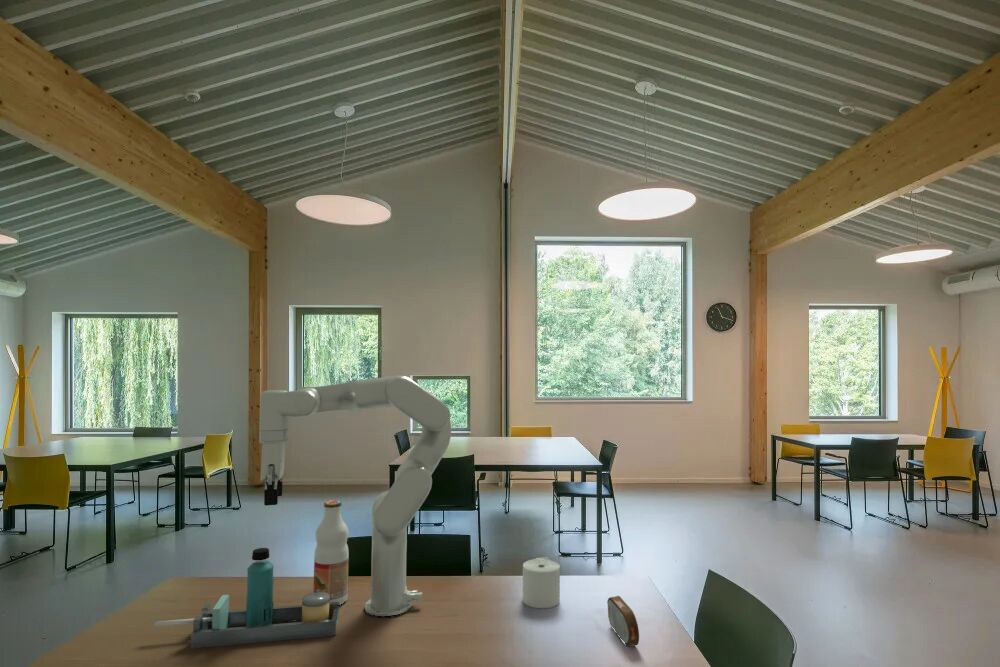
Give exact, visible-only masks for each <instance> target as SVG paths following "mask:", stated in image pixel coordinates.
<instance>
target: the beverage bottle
mask: <svg viewBox="0 0 1000 667" xmlns="http://www.w3.org/2000/svg"><path fill="white" fill-rule="evenodd" d="M251 554H252V555H251V560H252V561H254V562H252V563H251V564H250V565H249V566H248V567H247V569H246V570H247V572H246V573H247V575H246V576H247V583H246V604H245V609H246V625H245V626H246V627H247V626H259V625H271V624H273V623H272V618H273V607H274V580H275V579H274V568H275V567H274V566H275V565H274V564H273V563H272V562H271V561H269V560H267V559H270V549H269V548H268V547H260V548H259V547H258V548H256V549H253V550H252V553H251Z"/></svg>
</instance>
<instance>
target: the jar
mask: <svg viewBox="0 0 1000 667" xmlns="http://www.w3.org/2000/svg"><path fill="white" fill-rule="evenodd" d="M329 601H330V595H329V594H328V593H326V592H310V593H306V594H305V595H303V597H302V598H301V605H302V620H301V622H307V621H319V620H330V618H329Z"/></svg>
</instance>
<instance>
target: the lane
mask: <svg viewBox="0 0 1000 667" xmlns="http://www.w3.org/2000/svg"><path fill="white" fill-rule="evenodd" d="M211 610H212V604H211V603H207V604H204V605H203V607H202V608H201V614H200V615H196V616H195V617H194V618H195V619H194V618H193V619H194V620H193V623H192V632H191V633H190V635H191V636H190V649H201V648H202V649H203V648H210V647H211V648H212V647H223V646H236V645H245V644H246V645H247V644H256V643H268V642H279V641H289V640H290V641H291V640H302V639H312V638H325V637H334V636H333V635H337V630H336V629H338V624H339V618H340V606H339V602H333V603H329V617H332V618H330V619H329V620H319V621H307V622H302V604H298V605H297V604H296V605H294V604H293V605H284V606H282V605H281V606H273V618H272V623H271V624H270V625H259V626H247V625H246V608H245V609H234V610H233V609H232V610H230V609H229V616H228V627H227V628H223V629H212V622H203V618H207V617H212V616H213V611H211ZM338 617H339V618H338ZM294 620H300V621H294ZM286 621H288V622H286ZM284 622H285V623H284ZM337 623H338V624H337Z"/></svg>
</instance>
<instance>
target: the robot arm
mask: <svg viewBox="0 0 1000 667" xmlns="http://www.w3.org/2000/svg"><path fill="white" fill-rule="evenodd" d="M389 407H394V408H396V409H397V410H399V411H400V412H401V413H403V414H405V415H406V416H407V417H409V418H410V419H411V420H413V421H414V422H416V423H417V424H419V425H420V426H421V428H422V430H421V433H420V436H419V438H418V440H417V441H416V443H415V444H414V446H413V448H412V449H411V451H410V452H409V453H408V455H407V457H406V458H405V459H404V460H403V462H402V463H401V465H399V467H398V469H397V470H396V472H395V473H396V474H395V480H394V482H393V484H392V485H391V487H390V488H389V490H386V491H383V492H381V493H380V494H379V495H377V497H376V498H375V499H374V501H373V503H372V509H371V520H372V521H371V522H372V523H371V564H370V565H371V568H370V569H371V572H370V574H371V575H370V577H371V578H370V580H371V581H370V585H371V586H370V599H368V600H367V601H366V602H365V604H364V610H365V612H366V613H367V614H368V613H369V614H368V615H370V614H371V615H370V616H373V615H375V616H374V617H377V616H391V615H397V614H400V613H403V612H405V611H406V612H408V611H409V610H410V609H411V607H412V601H423V592H418V589H415V590H409V589H408V586H407V548H408V547H407V545H408V544H407V543H408V540H407V538H408V537H407V533H408V531H407V530H408V528H407V527H408V526H409V524H410V523H411V522H412V521H413V518H414V517H415V516H416V514H417V512H418V511H419V509H420V508H421V507H422V506H423V503H424V502H425V501H426V499H427V497H428V495H429V494H430V491H431V490H432V485H433V478H432V475H433V473H434V472H435V470H436V468H437V467H438V466H439V463H440V461H441V460H442V458H443V457H444V455H445V453H446V452H447V449H448V448H449V445H450V442H451V439H452V438H451V436H452V423H451V417H452V415H451V411H450V409H449V407H448V405H447V404H446V403H445V402H443V401H442V400H440V399H439V398H438V397H436V396H434V395H433V394H432V393H431V392H429V391H428V390H426V389H425V388H423V387H421V385H419V384H418V383H416V382H415V381H414V380H413V379H412V378H410V377H409V376H406V375H400V374H399V375H392V376H391V375H390V376H384V377H376V378H368V379H367V378H366V379H361V380H360V379H359V380H358V379H357V380H350V381H347V382H344V383H343V382H342V383H337V384H328V385H320V386H314V387H313V386H312V387H305V388H300V389H298V390H290V391H289V390H284V389H272V390H271V389H268V390H264V391H262V392H261V393H260V396H259V436H258V438H259V439H258V440H259V441H258V442H259V444H262V447H261V448H262V450H261V461H260V462H261V464H260V481H261V482H264V481H265V482H264V483H265V484H264V498H263V500H264V501H263V502H264V503H263V505H264V507H267V506H277V505H278V502H279V501H278V500H279V497H283V475H284V473H285V456H286V455H285V454H286V453H285V452H286V451H285V450H286V444H285V443H287V442H289V441H290V419H291V418H290V417H293V418H308V417H310V416H312V415H314V414H319V413H326V412H332V411H333V412H334V411H351V412H361V411H368V410H375V409H382V408H389ZM409 608H410V609H409ZM408 609H409V610H408ZM407 610H408V611H407ZM406 612H405V613H406ZM403 614H404V613H403ZM400 615H401V614H400ZM397 616H398V615H397ZM391 617H392V616H391Z"/></svg>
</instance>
